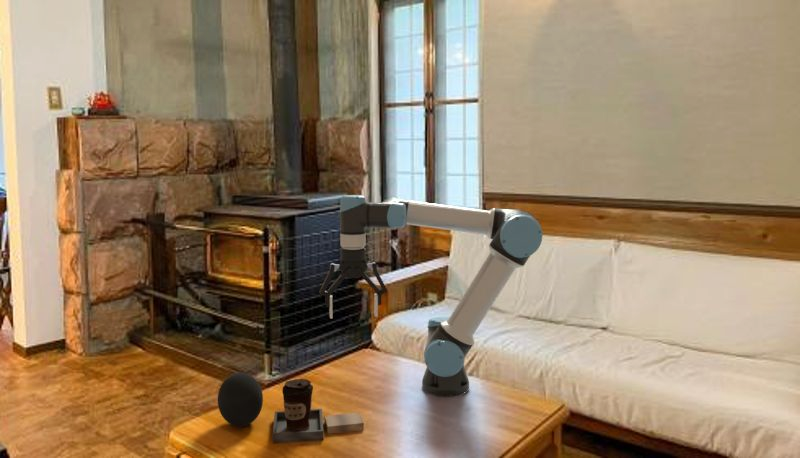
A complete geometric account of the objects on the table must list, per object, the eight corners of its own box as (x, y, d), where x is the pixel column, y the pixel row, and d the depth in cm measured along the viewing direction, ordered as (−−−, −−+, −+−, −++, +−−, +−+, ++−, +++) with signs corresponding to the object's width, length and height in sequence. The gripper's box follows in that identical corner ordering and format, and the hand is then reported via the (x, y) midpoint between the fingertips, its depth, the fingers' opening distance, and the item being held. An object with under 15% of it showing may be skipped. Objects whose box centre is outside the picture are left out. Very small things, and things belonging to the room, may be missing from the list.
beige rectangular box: (359, 420, 188) (359, 412, 188) (363, 431, 181) (363, 422, 181) (324, 424, 186) (324, 415, 185) (327, 435, 179) (327, 426, 179)
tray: (321, 416, 189) (321, 408, 189) (323, 439, 175) (323, 431, 175) (275, 419, 187) (274, 411, 187) (272, 443, 173) (272, 434, 173)
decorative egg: (247, 437, 176) (246, 384, 174) (209, 430, 181) (207, 378, 178) (271, 418, 188) (270, 369, 186) (235, 412, 192) (233, 363, 190)
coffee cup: (307, 435, 176) (306, 390, 174) (278, 432, 178) (276, 387, 176) (317, 421, 185) (316, 378, 183) (289, 419, 186) (288, 375, 184)
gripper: (392, 244, 199) (392, 311, 202) (310, 246, 196) (311, 314, 199) (396, 248, 192) (396, 318, 195) (311, 250, 188) (312, 321, 191)
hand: (353, 316), depth 197 cm, fingers open, 13 cm apart
